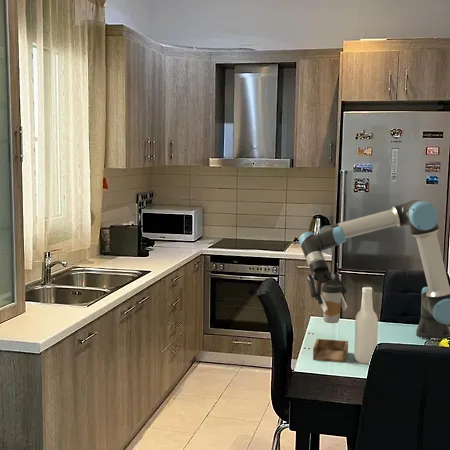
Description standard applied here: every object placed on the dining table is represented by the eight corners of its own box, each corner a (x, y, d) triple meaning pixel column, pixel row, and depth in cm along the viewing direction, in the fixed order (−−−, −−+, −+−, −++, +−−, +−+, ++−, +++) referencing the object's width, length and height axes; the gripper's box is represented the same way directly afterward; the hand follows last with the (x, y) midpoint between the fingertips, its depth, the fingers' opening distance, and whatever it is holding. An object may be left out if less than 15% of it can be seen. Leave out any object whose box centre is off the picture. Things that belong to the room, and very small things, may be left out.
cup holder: (347, 352, 250) (348, 341, 249) (345, 362, 237) (345, 350, 237) (316, 349, 253) (317, 338, 253) (313, 359, 241) (313, 347, 240)
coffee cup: (342, 319, 246) (343, 284, 245) (340, 324, 239) (340, 288, 237) (322, 317, 249) (323, 282, 247) (319, 323, 241) (320, 286, 240)
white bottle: (378, 359, 241) (380, 286, 238) (374, 365, 234) (376, 291, 230) (357, 356, 245) (359, 284, 242) (352, 362, 237) (353, 288, 234)
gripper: (335, 267, 260) (354, 312, 246) (292, 270, 253) (309, 316, 239) (342, 257, 254) (361, 302, 241) (298, 260, 247) (315, 306, 234)
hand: (335, 309), depth 240 cm, fingers closed on coffee cup, 8 cm apart
